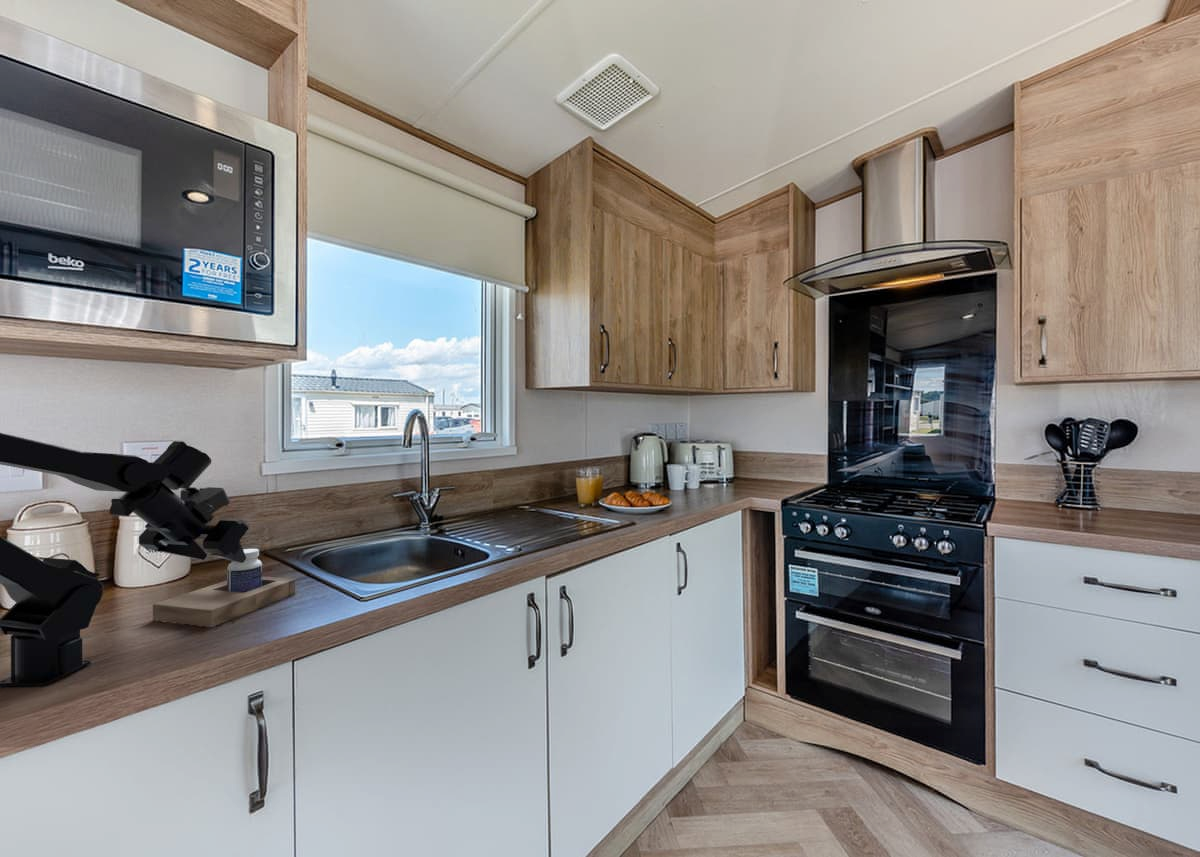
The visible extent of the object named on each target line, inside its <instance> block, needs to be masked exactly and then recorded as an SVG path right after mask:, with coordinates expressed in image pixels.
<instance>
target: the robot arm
mask: <svg viewBox="0 0 1200 857" xmlns="http://www.w3.org/2000/svg"><path fill="white" fill-rule="evenodd" d="M156 458H157V459H155V460H154V461H153V462H150V461H148V460H147V459H146V458H145V457H142V456H140V455H135V454H134V455H133V454H120V453H119V454H118V453H109V452H108V453H106V452H92V451H91V452H90V451H81V450H77V449H72V448H68V447H64V446H60V445H55V444H50V443H47V442H42V441H39V440H34V439H33V440H32V439H28V438H24V437H21V436H17V435H15V436H14V435H12V434H11V435H10V434H7V433H4V432H3V433H2V432H0V465H2V466H7V467H13V468H18V469H24V470H29V471H33V472H38V473H39V472H40V473H45V474H50V475H56V476H59V477H61V478H63V479H64V478H65V479H67V480H68V481H70V482H72V483H74V484H77V485H80V486H82V487H85V488H88V489H91V490H94V491H98V492H102V491H103V492H119V493H120V492H121V493H123V495H122V496H120V497H118V498H112V499H111V500H110V502H111V505H110V507H109V512H108V515H110V516H117V517H121V516H122V517H129V516H131V514H132V513H133V514H135V515H136V516H137V517H139V518H140V519H141V520H142V521H144V522H145V523H146V525H144V528H145V529H144V531H143V532H141V533H140V535H139V536H138V544H139V545H140V546H141V547H143V548H144V549H145V550H149V551H150V550H151V551H154V552H157V553H158V552H159V553H164V554H169V555H174V556H181V557H184V558H185V557H186V558H189V559H195V560H202V561H204V560H205V559H206V558H207V557H208V554H207V553H210V556H213V557H216V558H220V559H224V560H229V561H231V562H232V561H235V562H240V563H243V562H244V561H245V560H246V556H245V553H244V551H243V549H244V548H243V546H242V543H241V542H242V541H241V539H242V538H243V537H244V535H245V534H246V533H247V531H248V530H249V528H250V527H249V524H247V523H246V522H245V521H244V519H239V518H238V519H233V518H226V519H220V520H219V521H218V523H217V524H216V525H210V524H209V525H208V523H211V522H212V521H213V519H214V518H215V516H214V515H213V514H214V513H216V512H217V511H218V510H220V509H222V508H223V507H227V506H228V505H229V504H230V500H229V498H228V495H227V493H226V491H225V488H223V487H212V486H211V487H210V486H208V487H201V488H196V487H192V485H193V483H194V482H196V480H197V479H199V477H200V476H201V475H202V474H203V472H205V471H206V469H207V468H208V467H209V466H210V465H211V464H212V459H211V457H210V456H209V455H208V454H207V453H206V452H205V451H204V452H203V451H202V450H199V449H198V448H196V447H193V446H191V445H188V444H186V442H184V441H179V440H178V441H176V440H175V441H172V442H171V443H170V444H169V445H168V446H167V448H166V450H164V452H163V453H161V454H160V455H159V457H156ZM179 489H181V490H180V496H179V495H178V494H176V493H175V492H174V491H177V490H179ZM197 539H201V540H202V539H203V540H202V546H200V545H199V543H198V542H196V540H197ZM100 574H101V573H99V572H98V573H97V572H92V571H91V570H88V569H87V568H86V567H85V566H84V565H83V564H82V563H80V562H79V561H78V560H76V559H68V558H67V559H66V558H55V557H44V558H43V559H42V560H41V559H40V558H39V557H36V556H35V555H33V554H32V553H30V552H28V551H27V550H24V549H23V548H22V547H20V546H18V545H16V543H13V542H11V541H10V540H8V539H6V538H4V537H3V536H1V535H0V584H1V585H2V586H3V587H4V589H5V591H6V593H7V594H8V596H9V598H10V599H12V601H14V602H15V603H14V604H13V605H12V606H11V607H10V608H9V609H8V610H7V611H6V612H5V613H4V614H3V615H2V616H1V617H0V632H1V634H2V635H4V636H7V635H10V676H9V677H6V678H4V679H2V680H0V687H22V686H23V687H26V686H27V687H29V686H31V687H32V686H35V687H36V686H37V687H38V686H48V685H49V684H52V683H53V682H57V681H58V680H60V679H62V678H65V677H66V676H68V675H70V674H72V673H74V672H76V671H78V670H80V669H83V668H85V667H87V666H88V665H90V664H91V663H92V660H91V659H83V637H81V630H84V629H87V628H89V626H90V623H91V621H92V618H93V615H94V614H95V611H96V608H97V606H98V604H99V603H100V601H101V600H102V597H103V594H104V592H103V590H104V589H105V588H104V585H103V582H101V581H100V579H98V578H97V577H99V576H101V575H100Z"/></svg>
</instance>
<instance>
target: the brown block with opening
mask: <svg viewBox="0 0 1200 857" xmlns="http://www.w3.org/2000/svg"><path fill="white" fill-rule="evenodd" d="M295 594H296V578H283V577H273V576H262V587H259V588H256V589H253V590H251V591H248V592H245V593H241V592H230V591H227V580H224V581H220V582H218V583H215V584H212V585H209V586H208V585H207V586H206V587H203V588H199V589H196V590H193V591H190V592H187V593H183V594H180V595H177V596H174V597H171V598H169V599H165V600H162V601H159V602H156V603H153V604H152V621H153V620H156V621H155V622H158V621H165V622H164V623H167V622H175V623H174V624H176V623H182V624H181V625H184V624H190V625H189V626H193V625H197V626H196V627H202V626H205V627H204V628H211V627H212V628H214V627H216V625H217V626H219V625H222V624H223V623H226V622H229V621H231V620H233V619H236V618H239V617H242V616H243V615H245V614H249V613H250V612H253V611H256V610H258V609H261V608H263V607H266V606H268V605H271V604H274V603H276V602H278V601H280V600H283V599H285V597H286V598H288V597H291V596H294V595H295ZM221 623H222V624H221Z"/></svg>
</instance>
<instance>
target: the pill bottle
mask: <svg viewBox="0 0 1200 857" xmlns="http://www.w3.org/2000/svg"><path fill="white" fill-rule="evenodd" d="M243 551H244V553H245V556H246V560H245V561H244V562H243V563H240V562H235V561H232V560H231V563H229V564H228V565H227V568H226V569H227V570H226V575H227V576H226V581H227V591H230V592H241V593H245V592H248V591H251V590H253V589H256V588H259V587H262V577H263V563H262V561H261V560H260V559H258V557H259V556H260V550H259V549H258V548H245V549H244V548H243Z"/></svg>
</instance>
